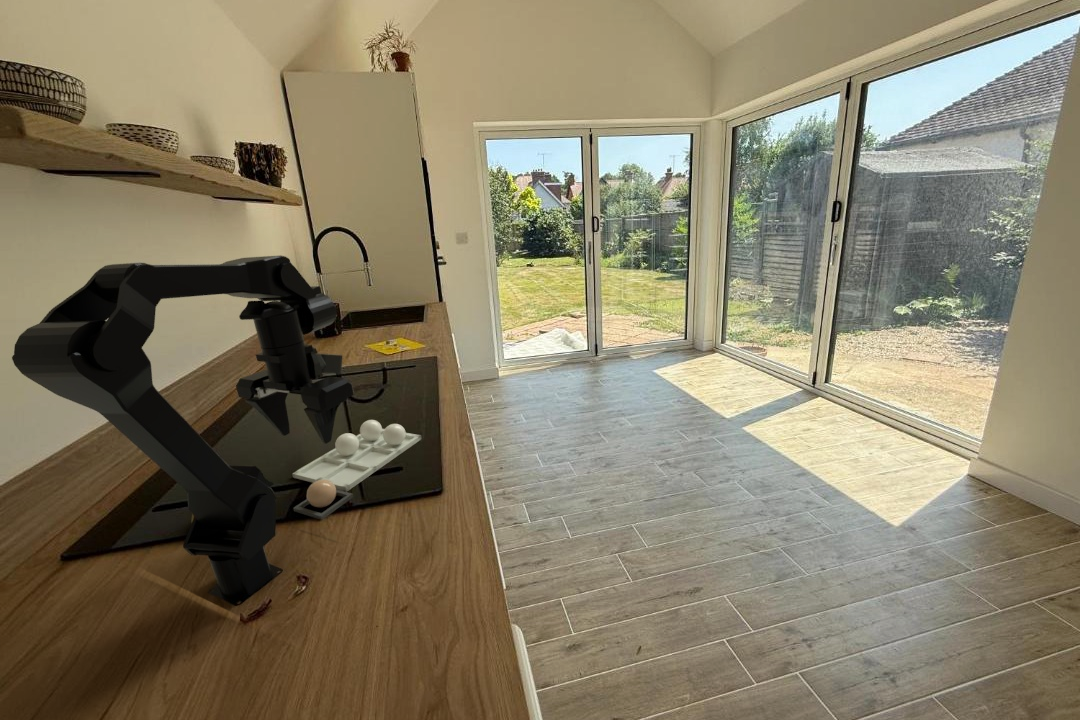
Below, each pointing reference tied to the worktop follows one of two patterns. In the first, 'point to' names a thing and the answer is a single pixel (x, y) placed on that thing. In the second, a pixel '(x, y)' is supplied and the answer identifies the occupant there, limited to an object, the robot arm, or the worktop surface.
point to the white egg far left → (394, 434)
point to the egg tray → (354, 462)
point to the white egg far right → (370, 430)
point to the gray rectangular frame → (321, 516)
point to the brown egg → (321, 493)
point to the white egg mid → (347, 444)
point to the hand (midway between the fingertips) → (306, 438)
